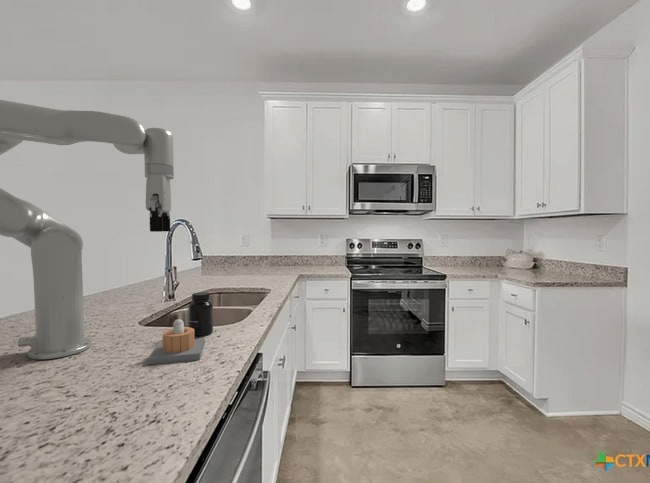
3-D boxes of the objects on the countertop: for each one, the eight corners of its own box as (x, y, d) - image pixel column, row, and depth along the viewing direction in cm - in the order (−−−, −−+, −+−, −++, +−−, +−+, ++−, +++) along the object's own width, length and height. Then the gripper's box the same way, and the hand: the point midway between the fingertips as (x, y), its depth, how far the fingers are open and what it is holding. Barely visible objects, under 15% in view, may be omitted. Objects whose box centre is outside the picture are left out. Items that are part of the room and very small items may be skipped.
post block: (148, 364, 73) (147, 327, 73) (160, 347, 84) (159, 315, 84) (199, 359, 76) (199, 323, 76) (204, 343, 87) (204, 312, 87)
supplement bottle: (187, 338, 91) (186, 296, 91) (190, 331, 98) (189, 291, 97) (212, 336, 93) (211, 294, 93) (214, 329, 100) (213, 290, 99)
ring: (160, 354, 76) (159, 337, 76) (166, 343, 83) (166, 328, 82) (192, 351, 78) (191, 334, 77) (196, 341, 84) (195, 326, 84)
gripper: (153, 177, 101) (154, 231, 102) (135, 166, 85) (137, 231, 85) (178, 177, 103) (179, 231, 104) (166, 167, 86) (168, 231, 87)
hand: (160, 231), depth 95 cm, fingers open, 9 cm apart
